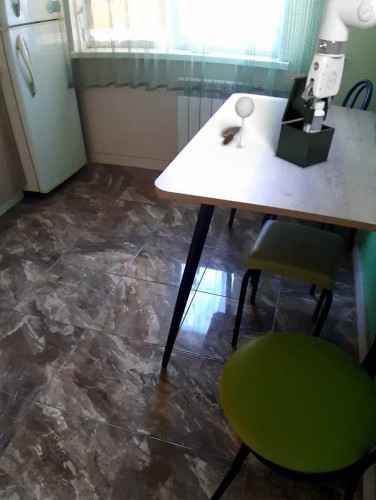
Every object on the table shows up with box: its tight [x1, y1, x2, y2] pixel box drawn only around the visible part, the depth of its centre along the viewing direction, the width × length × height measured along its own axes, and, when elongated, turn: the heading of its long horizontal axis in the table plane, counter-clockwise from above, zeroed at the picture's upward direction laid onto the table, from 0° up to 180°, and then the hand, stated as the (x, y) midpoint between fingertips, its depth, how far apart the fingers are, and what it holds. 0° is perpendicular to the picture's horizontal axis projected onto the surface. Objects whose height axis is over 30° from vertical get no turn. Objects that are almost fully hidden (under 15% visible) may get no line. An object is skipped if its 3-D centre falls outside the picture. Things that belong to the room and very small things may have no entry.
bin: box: [275, 118, 336, 169], centre depth 127 cm, size 12×11×10 cm
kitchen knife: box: [222, 126, 241, 145], centre depth 144 cm, size 21×2×5 cm
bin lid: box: [280, 73, 314, 123], centre depth 123 cm, size 12×11×5 cm
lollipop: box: [234, 96, 255, 148], centre depth 131 cm, size 6×6×15 cm
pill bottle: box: [303, 99, 325, 133], centre depth 122 cm, size 5×5×9 cm
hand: (314, 120), depth 122 cm, fingers closed on pill bottle, 5 cm apart
